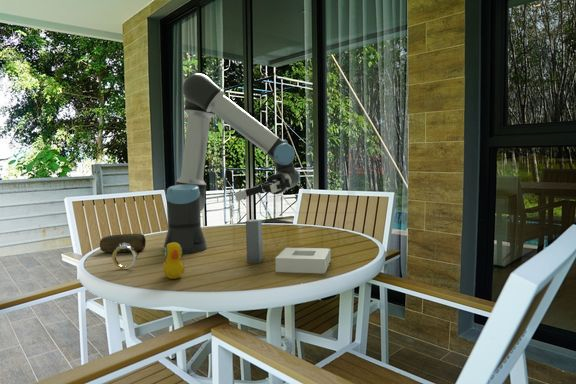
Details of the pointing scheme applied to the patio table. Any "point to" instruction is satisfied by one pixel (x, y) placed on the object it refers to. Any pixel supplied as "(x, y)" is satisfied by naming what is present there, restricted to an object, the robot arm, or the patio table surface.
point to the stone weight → (114, 240)
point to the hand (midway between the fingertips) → (253, 193)
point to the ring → (124, 248)
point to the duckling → (173, 261)
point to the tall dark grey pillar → (254, 241)
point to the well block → (303, 260)
